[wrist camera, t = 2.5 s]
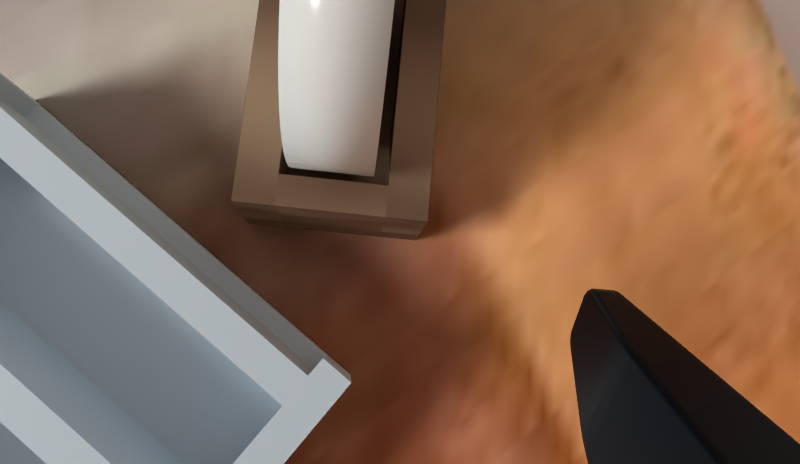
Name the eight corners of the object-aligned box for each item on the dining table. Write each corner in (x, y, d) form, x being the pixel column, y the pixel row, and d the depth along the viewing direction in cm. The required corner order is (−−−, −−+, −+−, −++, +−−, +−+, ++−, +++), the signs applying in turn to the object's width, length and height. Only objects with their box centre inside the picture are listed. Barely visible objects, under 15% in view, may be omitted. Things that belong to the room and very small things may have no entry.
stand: (415, 240, 23) (427, 221, 20) (248, 223, 23) (231, 200, 19) (443, -80, 25) (458, -146, 22) (292, -100, 25) (283, -171, 22)
